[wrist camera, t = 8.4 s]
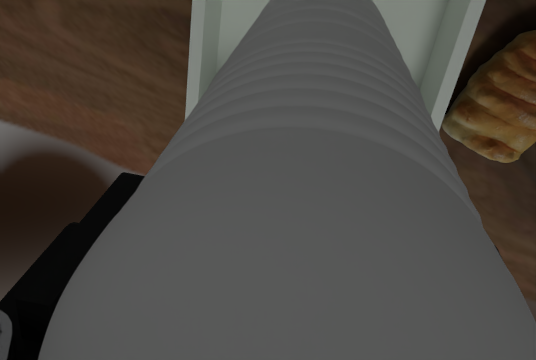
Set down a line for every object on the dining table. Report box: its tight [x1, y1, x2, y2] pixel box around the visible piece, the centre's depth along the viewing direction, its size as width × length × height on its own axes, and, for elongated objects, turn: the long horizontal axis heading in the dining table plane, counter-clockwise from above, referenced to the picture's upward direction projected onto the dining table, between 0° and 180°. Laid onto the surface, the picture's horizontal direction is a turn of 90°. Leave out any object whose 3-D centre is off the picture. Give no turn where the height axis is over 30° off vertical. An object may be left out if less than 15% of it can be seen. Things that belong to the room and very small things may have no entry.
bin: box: [185, 0, 486, 132], centre depth 31 cm, size 17×19×6 cm
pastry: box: [441, 30, 536, 163], centre depth 33 cm, size 9×7×4 cm
